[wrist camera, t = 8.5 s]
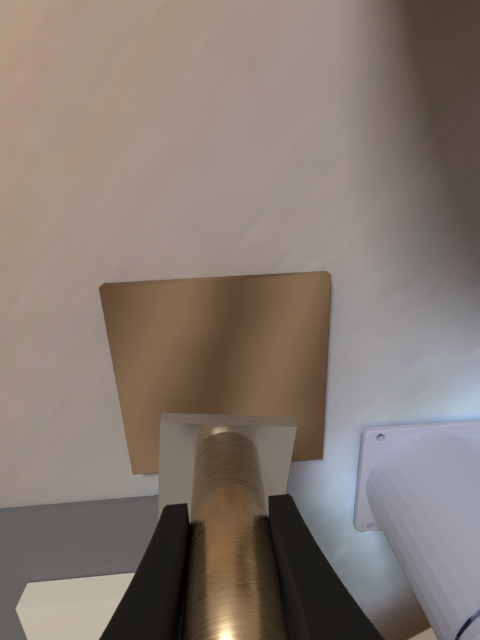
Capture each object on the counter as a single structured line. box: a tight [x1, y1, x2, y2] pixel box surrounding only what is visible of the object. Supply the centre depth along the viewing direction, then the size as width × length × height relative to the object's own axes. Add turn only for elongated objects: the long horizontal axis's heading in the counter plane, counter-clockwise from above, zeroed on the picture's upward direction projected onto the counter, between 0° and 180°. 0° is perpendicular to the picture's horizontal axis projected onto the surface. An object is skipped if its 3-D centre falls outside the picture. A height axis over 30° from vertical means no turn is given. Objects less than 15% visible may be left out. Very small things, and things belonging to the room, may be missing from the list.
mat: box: [0, 495, 159, 640], centre depth 24 cm, size 14×18×1 cm
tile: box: [16, 573, 135, 640], centre depth 23 cm, size 7×2×8 cm
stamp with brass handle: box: [158, 413, 297, 640], centre depth 10 cm, size 6×5×9 cm
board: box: [99, 271, 331, 474], centre depth 19 cm, size 11×11×1 cm
